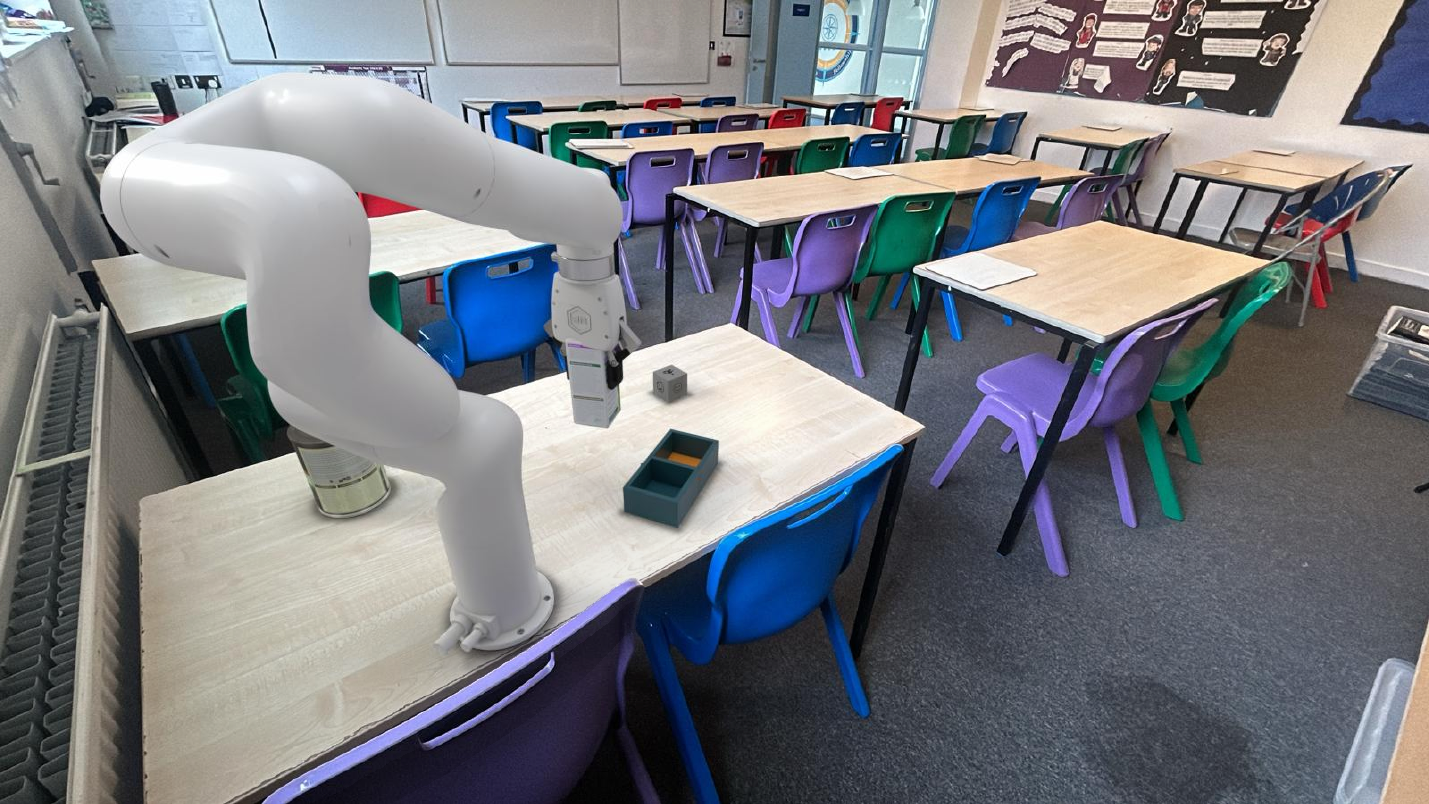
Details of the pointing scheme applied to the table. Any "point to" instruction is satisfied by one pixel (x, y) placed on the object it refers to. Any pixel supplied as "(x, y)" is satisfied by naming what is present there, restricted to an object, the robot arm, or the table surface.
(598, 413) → the syrup box
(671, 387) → the dice cube
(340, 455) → the coffee can
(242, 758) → the table surface
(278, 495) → the table surface
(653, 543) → the table surface
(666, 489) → the tray
